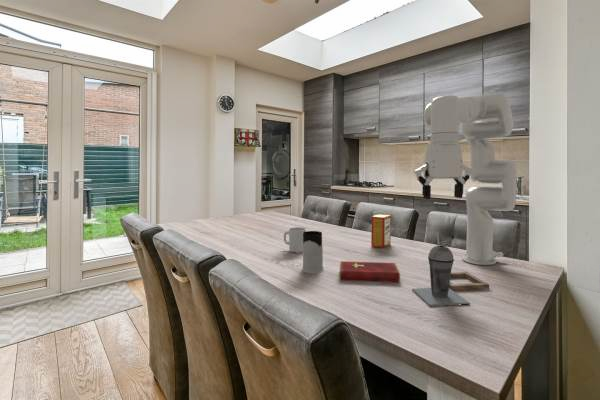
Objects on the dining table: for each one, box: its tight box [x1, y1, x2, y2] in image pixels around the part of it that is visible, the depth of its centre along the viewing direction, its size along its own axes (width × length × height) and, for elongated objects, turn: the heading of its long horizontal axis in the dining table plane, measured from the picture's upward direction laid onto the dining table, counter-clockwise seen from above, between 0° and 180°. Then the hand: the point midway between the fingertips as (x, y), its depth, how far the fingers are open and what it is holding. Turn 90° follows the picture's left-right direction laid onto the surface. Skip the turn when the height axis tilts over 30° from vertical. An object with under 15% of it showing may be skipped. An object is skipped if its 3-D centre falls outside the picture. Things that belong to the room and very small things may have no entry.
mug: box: [283, 226, 307, 254], centre depth 153 cm, size 12×8×11 cm
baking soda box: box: [370, 213, 392, 249], centre depth 159 cm, size 10×6×16 cm
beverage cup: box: [427, 231, 455, 298], centre depth 94 cm, size 7×7×20 cm
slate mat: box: [411, 287, 471, 307], centre depth 95 cm, size 12×12×1 cm
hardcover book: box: [339, 260, 401, 283], centre depth 115 cm, size 12×21×4 cm, turn 81°
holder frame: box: [449, 271, 490, 291], centre depth 107 cm, size 13×13×2 cm
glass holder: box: [301, 230, 325, 274], centre depth 125 cm, size 9×14×15 cm, turn 160°
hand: (442, 198), depth 92 cm, fingers open, 9 cm apart
